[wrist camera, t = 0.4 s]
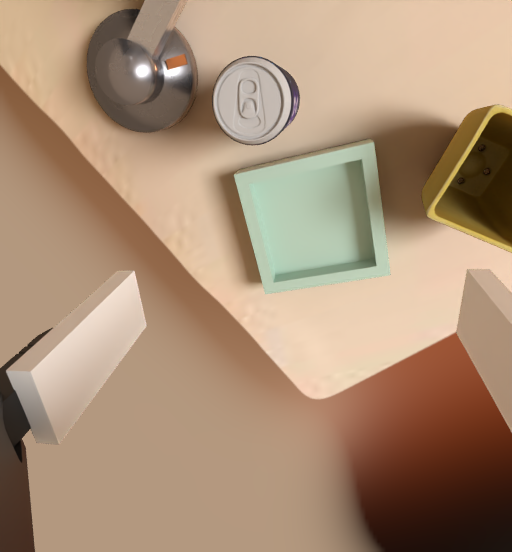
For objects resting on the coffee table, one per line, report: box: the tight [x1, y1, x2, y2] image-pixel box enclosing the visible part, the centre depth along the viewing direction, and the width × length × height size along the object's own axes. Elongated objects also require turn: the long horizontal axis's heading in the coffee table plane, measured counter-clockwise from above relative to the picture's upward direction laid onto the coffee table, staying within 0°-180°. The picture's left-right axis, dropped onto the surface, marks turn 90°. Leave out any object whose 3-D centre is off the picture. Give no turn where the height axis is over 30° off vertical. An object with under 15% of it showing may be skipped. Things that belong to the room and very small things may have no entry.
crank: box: [95, 0, 187, 105], centre depth 30 cm, size 15×5×9 cm, turn 144°
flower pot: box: [421, 105, 512, 253], centre depth 33 cm, size 9×9×9 cm
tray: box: [234, 139, 391, 294], centre depth 39 cm, size 13×13×3 cm
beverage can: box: [212, 56, 300, 145], centre depth 31 cm, size 6×6×12 cm
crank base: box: [87, 9, 198, 132], centre depth 36 cm, size 10×10×2 cm
